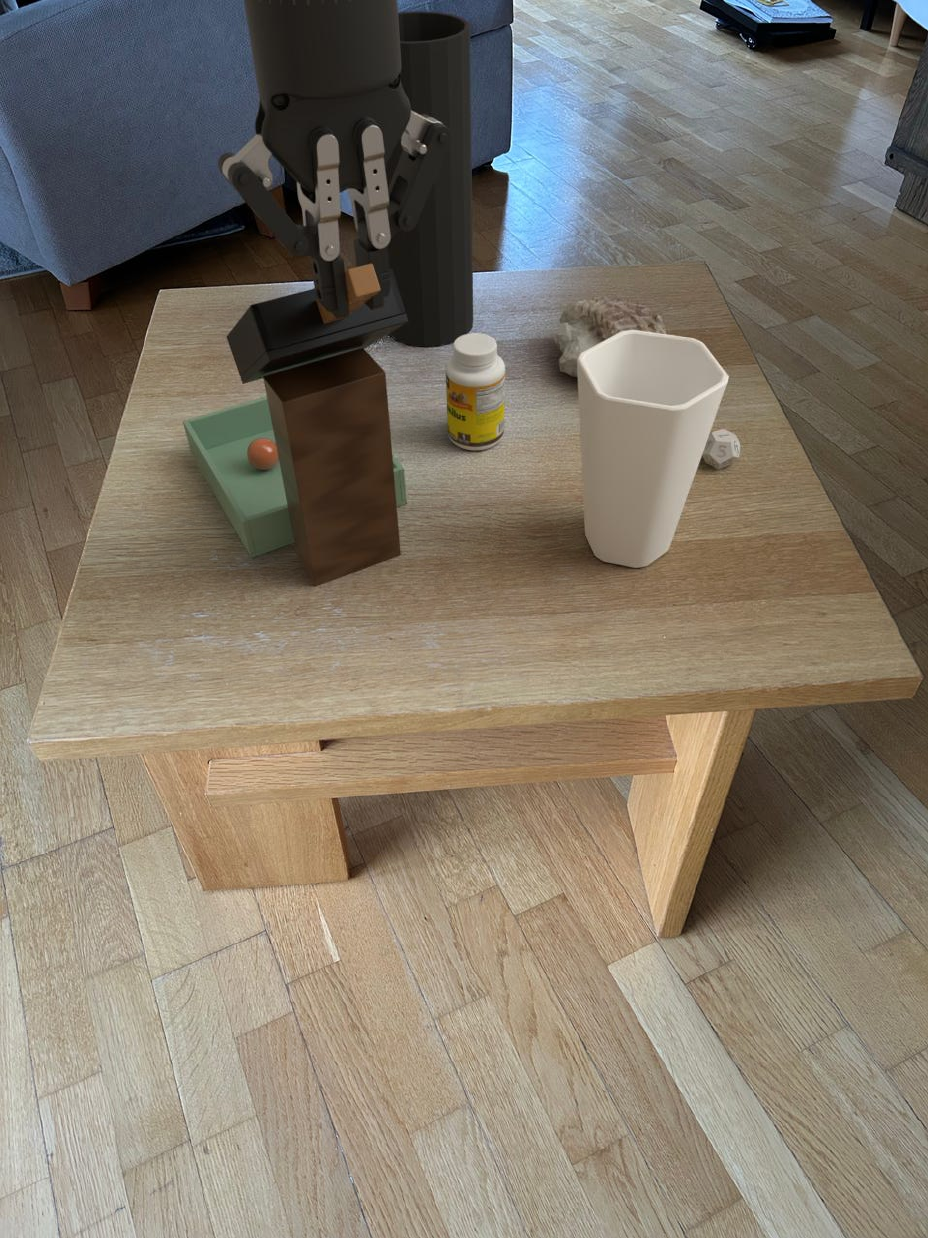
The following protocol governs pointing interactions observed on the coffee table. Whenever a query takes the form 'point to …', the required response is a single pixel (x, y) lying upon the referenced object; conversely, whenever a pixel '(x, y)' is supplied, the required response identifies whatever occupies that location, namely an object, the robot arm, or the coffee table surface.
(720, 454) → the game die
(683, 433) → the cup
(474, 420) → the supplement bottle
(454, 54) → the vase
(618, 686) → the coffee table surface
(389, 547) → the block
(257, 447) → the terracotta ball
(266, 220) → the robot arm
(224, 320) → the coffee table surface
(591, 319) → the seashell
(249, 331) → the pan
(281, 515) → the tray
